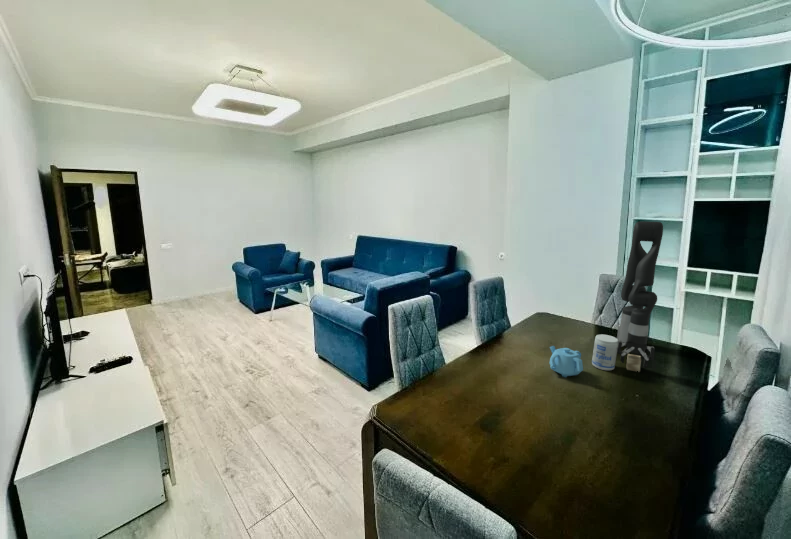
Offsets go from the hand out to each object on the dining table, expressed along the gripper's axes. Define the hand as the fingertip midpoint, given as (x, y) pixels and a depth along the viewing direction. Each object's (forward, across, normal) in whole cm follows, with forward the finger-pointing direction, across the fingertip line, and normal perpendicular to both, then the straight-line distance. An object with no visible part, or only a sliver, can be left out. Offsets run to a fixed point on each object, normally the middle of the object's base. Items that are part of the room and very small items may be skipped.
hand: (633, 364), depth 164 cm
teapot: (+3, -28, -19) cm, 34 cm away
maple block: (+2, 0, 0) cm, 2 cm away
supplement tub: (+2, -12, -4) cm, 13 cm away
